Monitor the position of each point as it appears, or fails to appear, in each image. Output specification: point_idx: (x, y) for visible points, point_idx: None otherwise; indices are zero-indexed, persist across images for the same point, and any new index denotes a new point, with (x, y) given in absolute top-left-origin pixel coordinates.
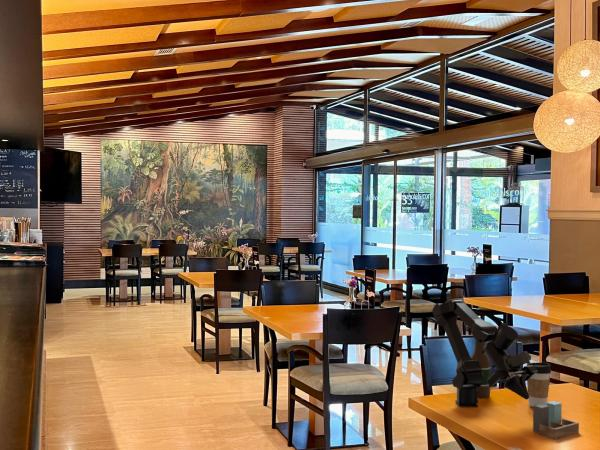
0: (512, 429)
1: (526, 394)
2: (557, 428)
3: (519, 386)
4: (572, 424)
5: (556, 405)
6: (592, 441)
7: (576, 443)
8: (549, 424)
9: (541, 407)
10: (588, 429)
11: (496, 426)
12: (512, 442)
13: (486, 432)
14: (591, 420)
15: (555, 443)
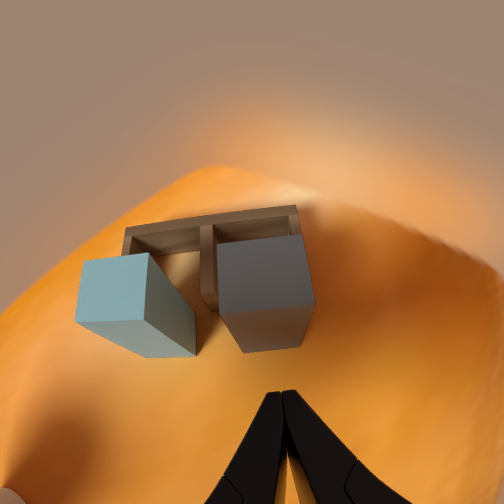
0: (372, 404)
1: (294, 410)
2: (275, 209)
3: (378, 482)
4: (163, 224)
5: (133, 259)
6: (189, 178)
7: (254, 181)
8: (190, 332)
9: (295, 242)
10: (82, 261)
11: (406, 461)
12: (462, 268)
13: (487, 394)
14: (5, 317)
15: (325, 204)
